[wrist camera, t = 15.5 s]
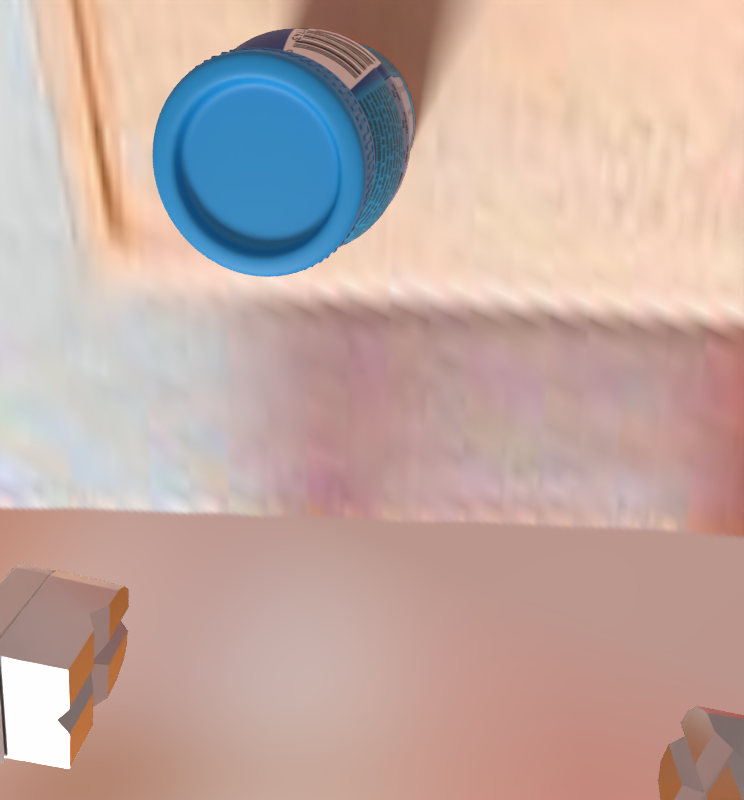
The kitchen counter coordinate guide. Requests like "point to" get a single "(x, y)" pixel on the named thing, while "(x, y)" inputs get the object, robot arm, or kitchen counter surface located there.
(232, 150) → the beverage bottle
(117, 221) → the kitchen counter surface
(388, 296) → the kitchen counter surface
